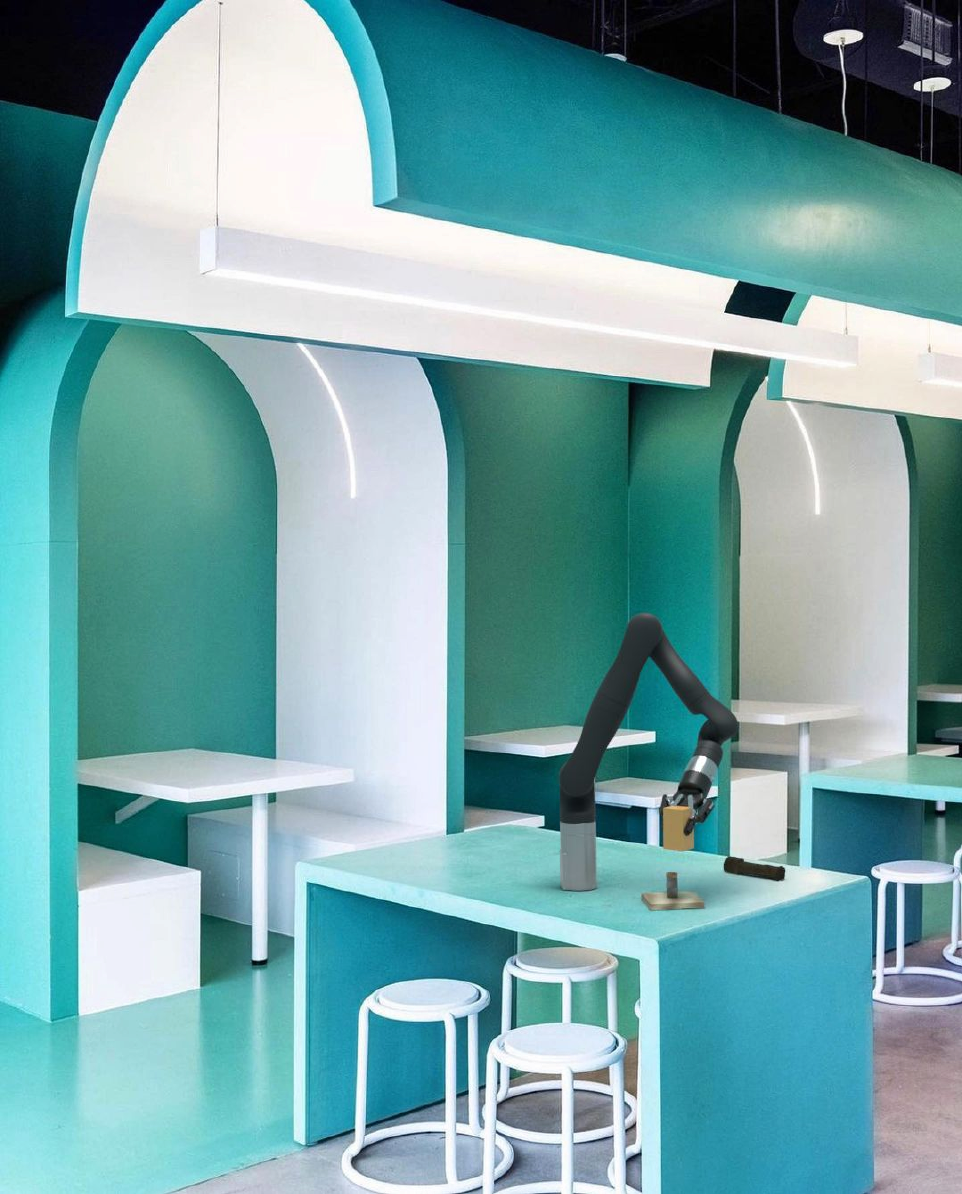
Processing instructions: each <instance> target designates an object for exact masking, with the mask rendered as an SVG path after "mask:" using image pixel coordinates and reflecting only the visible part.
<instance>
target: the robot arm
mask: <svg viewBox="0 0 962 1194" xmlns="http://www.w3.org/2000/svg"><path fill="white" fill-rule="evenodd" d="M668 638H669V637H668V636H667V634H666V633H665V631H664V629H663V624H662V622H661V621H660V619H659V618H658V617H657V616H655V615H654V614H652V613H649V612H641V613H637V614H635V615H634V616H632V617H631V619H629V621H628V622H627V625H626V629H625V634H624V636H623V640H622V642H621V644H620V647H619V650H618V652H617V656H616V657H615V659H614V660H613V663H612V664H611V666H610V668H609V669H608V671H607V673H606V674H605V676H604V678H603V680H602V681H601V683H600V685H599V687H598V689H597V691H596V693H595V694H594V697H593V699H592V701H591V704H590V705H589V708H588V711H587V714H586V717H585V719H584V723H583V726H582V730H581V733H580V736H579V739H578V741H577V743H576V745H575V747H574V749H573V751H572V753H571V754H570V756H569V757H568V759H567V761H565V762H564V764H563V765H562V766H561V768H560V770H559V773H558V783H559V827H560V828H559V829H560V830H559V834H560V849H559V869H560V870H559V872H560V873H559V874H560V875H559V879H560V880H559V881H560V887H561V889H562V890H563V891H577V892H578V891H579V892H580V891H591V890H594V889H597V888H598V871H597V870H598V869H597V868H598V867H597V865H598V864H597V863H598V862H597V833H596V831H597V828H596V827H597V826H596V824H597V823H596V785H595V784H596V783H595V782H596V780H595V779H596V777H597V772H598V771H599V768H600V765H601V762H602V759H603V756H604V755H605V752H606V750H607V749H608V747H609V745H610V744H611V742H612V741H613V739H614V737H616V736H615V735H616V734H617V733H618V730H619V729H620V727H621V725H622V723H623V721H624V719H625V716H626V714H627V712H628V711H629V709H630V706H631V704H632V702H633V699H634V696H635V693H636V690H637V687H638V684H639V680H640V676H641V673H642V670H643V668H644V666H645V665H646V662H647V661H648V659H649V658H650V659H651V661H652V662H653V663H654V664H655V666H656V667H657V668H658V669H659V670H660V672H661V673H662V675H663V676H664V677H665V679H666V681H667V683H668V684H669V685H670V687H671V688H672V690H673V691H674V693H675V695H676V696H677V697H678V698H679V699H680V701H681V702H682V703H683V705H684V706H685V708H686V709H687V710H688V711H689V712H690V714H692V715H693V716H698V715H701V716H702V715H703V716H704V717H705V718H706V719H707V720H705V721H704V722H703V724H702V725H701V727H700V729H699V731H698V736H697V741H696V742H697V743H696V747H695V749H694V752H693V754H692V757H691V758H690V760H689V762H688V763H687V765H686V767H685V770H684V772H683V774H682V776H681V779H680V781H679V783H678V786H677V791H676V792H675V793H673V795H671V796H668V795H667V794H666V793H664V794H663V795H662V796H661V802H660V806H659V814H660V817H661V818H662V819H663V808H666V807H670V806H683V807H688V808H691V813H690V815H689V817H690V819H688V821H687V823H686V825H685V828H684V830H683V832H684V834H685V835H686V836H689V834H691V833H692V831H693V828H695V826H696V825H697V824H698V823H700V824H704V823H705V822H706V820H707V819H708V817H709V816H710V814H711V813H712V811H713V810H714V808H715V804H714V801H713V800H712V798H710V797H709V798H708V795H709V793H710V791H711V789H712V786H713V783H715V780H716V779H715V778H716V775H717V772H718V769H719V766H720V765H721V762H722V759H723V756H724V750H723V748H722V745H723V744H724V743H725V742H726V741H729V740H730V739H731V738H733V737H735V736H736V734H737V733H738V732H739V729H740V728H739V727H740V726H739V722H738V720H737V717H736V715H735V714H734V713H733V712H732V710H730V709H729V708H728V707H727V706H725V705H724V704H723V703H722V702H721V701H720V700H718V699H716V697H714V696H713V695H712V694H711V693H710V691H709V690H708V689H707V688H706V686H705V685H704V683H703V682H702V681H701V680H700V679H699V677H698V676H697V674H695V673H694V671H693V670H692V669H691V668H690V667H689V665H688V664H687V663H686V662H685V661H684V660H683V659H682V658H681V655H679V653H678V652H677V651H676V649H675V648H674V646H673V645H672V643H671V642H670V640H669V639H668ZM698 810H699V811H698ZM660 829H661V830H662V832H663V821H662V823H661V824H660Z"/></svg>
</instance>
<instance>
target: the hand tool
mask: <svg viewBox="0 0 962 1194" xmlns="http://www.w3.org/2000/svg"><path fill="white" fill-rule="evenodd" d="M723 872H725V873H729V874H732V875H736V876H741V875H749V876H756V877H761V878H767V879H770V880H776V882H780V881H779V880H781V881H784V879H785V877H786V867H784V866H783V865H779V866H776V865H771V864H762V863H756V862H749V861H745V859H744V858H742V857H741V858H740V857H736V856H727V857H726V858H725V859H724V862H723Z"/></svg>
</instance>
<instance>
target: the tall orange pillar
mask: <svg viewBox="0 0 962 1194" xmlns="http://www.w3.org/2000/svg"><path fill="white" fill-rule="evenodd" d="M690 813H691V808H688V807H683V806H669V807H666V808H663V818H662V819H663V820H662V822H663V831H662V832H663V835H662V836H663V838H662V839H663V842H662V843H663V845H662V846H663V850H668V851H677V852H686V851H689V850H692V849H694V847H695V832H694V831H695V829H694V828H695V827H694V828H693V831H692V833H691V834H689V836H686V835H685V834H684V832H683V830H684V828H685V825H686V823H687V821H688V819H690V817H689V815H690Z"/></svg>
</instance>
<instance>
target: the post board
mask: <svg viewBox="0 0 962 1194" xmlns="http://www.w3.org/2000/svg"><path fill="white" fill-rule="evenodd" d="M665 876H666V891H662V892H641V900H642V901H643V903H644V904H645V906H647V908H648V909H649V910H650V911H668V910H667V909H677V910H682V909H681V908H704V909H705V908H706V907H705V904H706V903H705V901H704V900H703V899H702V898H701V897H700V896H699V895H698V894H697V893H696V892H694V890H693V891H692V890H691V891H689V890H688V891H678V889H679V888H678V872H676V871H669V872H666V875H665ZM679 908H680V909H679Z"/></svg>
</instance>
